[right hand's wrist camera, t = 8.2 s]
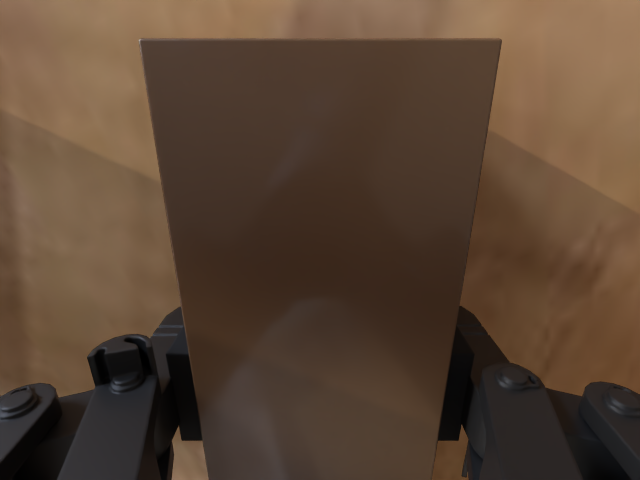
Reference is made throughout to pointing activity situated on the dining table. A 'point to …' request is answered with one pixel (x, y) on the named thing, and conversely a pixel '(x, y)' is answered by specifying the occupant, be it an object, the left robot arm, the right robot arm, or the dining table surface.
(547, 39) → the dining table surface
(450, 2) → the dining table surface
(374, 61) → the bar
